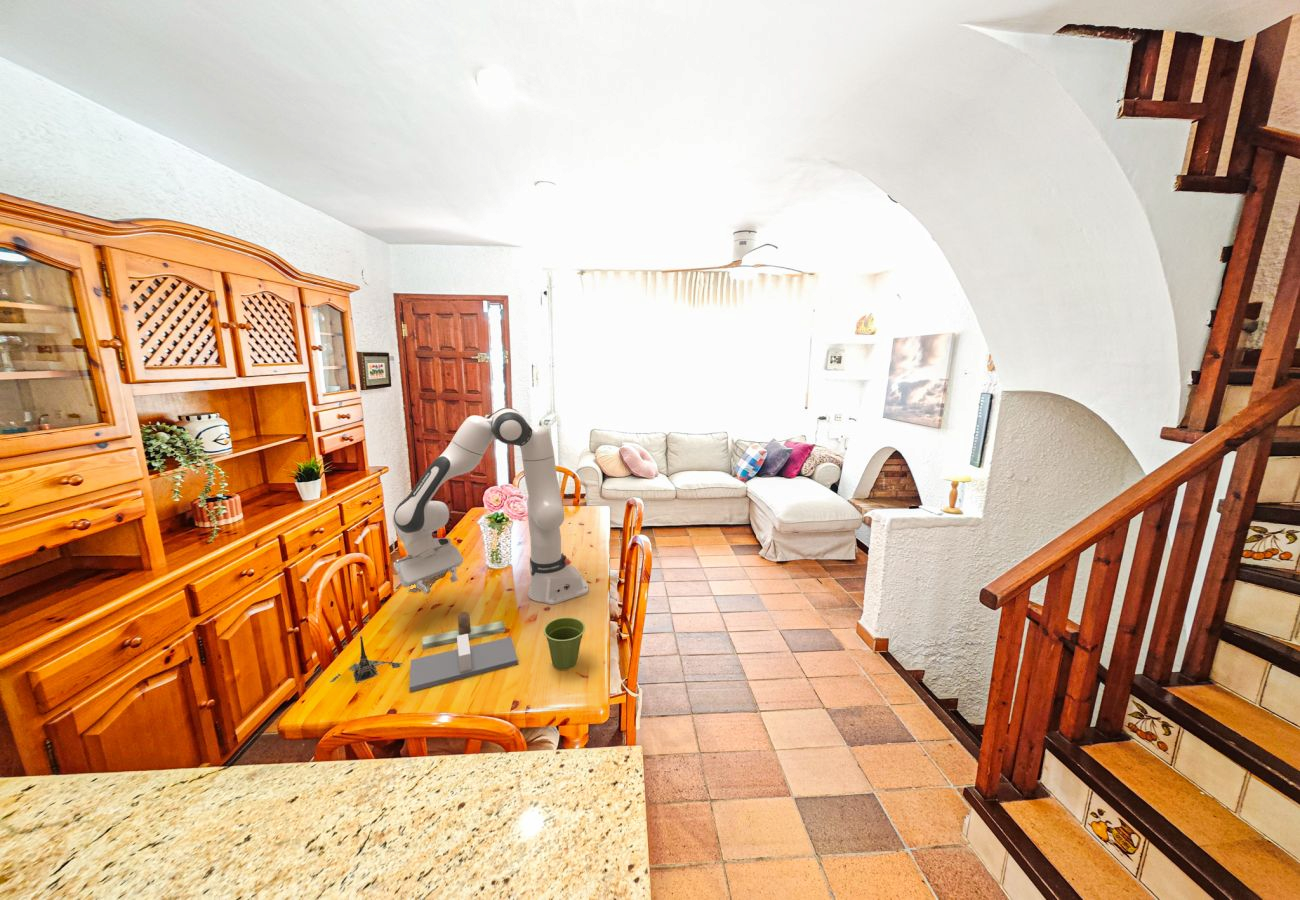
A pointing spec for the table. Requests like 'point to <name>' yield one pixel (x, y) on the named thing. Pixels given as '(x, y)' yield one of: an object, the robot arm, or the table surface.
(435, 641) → the balance beam
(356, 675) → the eiffel tower figurine
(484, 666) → the stand
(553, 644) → the plant pot
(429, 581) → the wooden fragment
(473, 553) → the table surface
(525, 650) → the table surface
